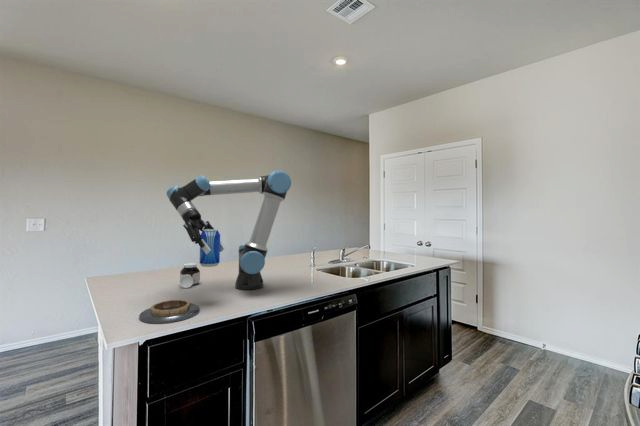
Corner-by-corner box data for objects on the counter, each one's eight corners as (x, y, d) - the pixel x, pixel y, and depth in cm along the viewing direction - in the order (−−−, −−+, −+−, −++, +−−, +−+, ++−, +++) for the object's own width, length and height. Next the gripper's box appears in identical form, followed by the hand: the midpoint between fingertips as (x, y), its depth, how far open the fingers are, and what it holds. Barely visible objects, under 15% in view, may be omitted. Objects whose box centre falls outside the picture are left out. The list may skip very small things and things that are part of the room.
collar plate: (191, 301, 138) (191, 294, 138) (206, 315, 121) (206, 307, 121) (135, 311, 125) (135, 303, 125) (143, 328, 108) (143, 318, 108)
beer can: (199, 264, 138) (200, 229, 138) (218, 263, 141) (219, 229, 141) (199, 267, 130) (200, 230, 130) (220, 266, 133) (221, 230, 133)
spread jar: (196, 282, 175) (196, 262, 175) (204, 285, 167) (204, 265, 167) (174, 285, 167) (174, 264, 167) (181, 289, 159) (181, 267, 159)
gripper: (201, 218, 151) (226, 253, 145) (165, 219, 132) (192, 259, 126) (210, 208, 149) (236, 243, 143) (175, 207, 130) (203, 248, 124)
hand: (215, 251), depth 134 cm, fingers closed on beer can, 8 cm apart
